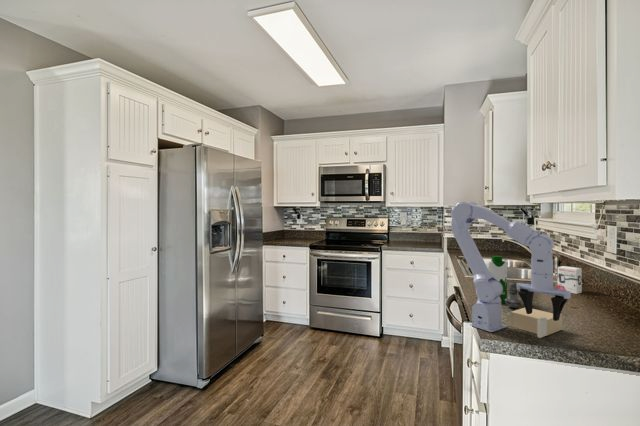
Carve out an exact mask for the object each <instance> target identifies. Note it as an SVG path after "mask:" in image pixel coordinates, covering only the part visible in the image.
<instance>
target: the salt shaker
mask: <svg viewBox="0 0 640 426" xmlns="http://www.w3.org/2000/svg"><path fill="white" fill-rule="evenodd" d="M518 292H519V290H518V289H517V282H515V280H514V279H512V280H511V282H509V283H508V289H507V293H508V295H507V299H505V302H506V303H505V304H506V305H507V306H506V307H505V310H506V311H510V312H512V311H515V310H518V309H520V308H519V307H520V306H521V303H522V300H521V299H519V298H518Z"/></svg>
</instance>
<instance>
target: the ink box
mask: <svg viewBox="0 0 640 426" xmlns="http://www.w3.org/2000/svg"><path fill="white" fill-rule="evenodd" d="M582 271H583V270H582V268H581V267H573V266H566V265H562V266H557V280H556V281H557V287H556V288H557V289H561V290H565V291H570V292H571V294H581V293H582V289H583V288H582V284H583V283H582V278H583V277H582V275H583V273H582Z"/></svg>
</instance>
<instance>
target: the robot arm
mask: <svg viewBox="0 0 640 426" xmlns="http://www.w3.org/2000/svg"><path fill="white" fill-rule="evenodd" d="M450 215H451V227H450V228H451V230H450V231H451V233H452V235H453V237H454V238H455V240H456V242H457V244H458V247H459V249H460V250H461V251H460V252H461V253H462V255H463V257H464V259H465V261H466V263H467V265H468V268H469V269H470V271H471V273H472V275H473V284H474V287H475V294H476V297H477V301H476V303H474V304H473V305H472V308H471V323H469V326H471V327H473V328H477V329H481V330H483V331H487V332H489V333H493V332H497V331H499V330H502V329H505V328H507V327H508V325H506V324H503V323H502V303H501V299H500V297H499V296H500V295H501V294H502V292H503V286H502V284H501V283H500V282H499V281H498V280H496V278H495V277H494V275H493V274H492V273H491V272H490V271H489V270H488V268H487V266H486V264H485V262H484V260H483V259H484V258H483V256H482V254H481V253H480V251H479V249H478V247H477V244H476V243H475V240H474V239H473V236H472V235H471V233H470V231H469V230H470V227H471V224H472V222H473V221H474V220H476V219H478V220H479V219H480V220H484V221H486V222H488V223H490V224H492V225H494V226H496V227H498V228H500V229H502V230H504V231H505V233H506V236H507V237H509V238H510V239H512V240H513V241H516V242H517V243H520V244H521V245H523V246H525V247H528V248H529V251H531V258H530V278H531V279H530V280H531V281H530V283H525V282H524V283H523V282H516V284H517V291H518V292H517V295H518V296H519V297H520V300H521V302H522V303H523V306H524V308H525V309H526V313H527V314H531V313H532V309H533V298H534V293H538V294H542V295H548V296H553V297H551V299H550V300H551V304H552V313H553V320H554V321H557V320H559V318H560V314H562V311H563V309H564V306H565V305H566V304H567V303H568V302H567V301H568V300H569V299H572V297H571V296H572V293H571V292H570V291H565V290H561V289H557V287H556V288H555V287H554V258H553V251H552V250H553V249H554V246H555V242H554V240H553V238H552V237H551V236H550V235H549V234H546V233H542V231H541V230H539V229H538V230H536V229H533V228H531V227H529V226H528V225H526V224H527V223H526V222H524V221H521V222H520V221H513V222H512V221H510V220H509V219H506V218H505V217H503V216H501V215H500V214H497V212H494V211H493V210H490V209H489V208H487V207H485V206H483V205H481V204H478V203H476V202H473V201H468V202H466V201H458V202H457V203H455V204H454V205H453V208H452V210H451V212H450Z"/></svg>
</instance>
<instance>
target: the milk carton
mask: <svg viewBox="0 0 640 426" xmlns="http://www.w3.org/2000/svg"><path fill="white" fill-rule="evenodd" d="M483 260H484V262H485V264H486V266H487V268H488V270H489V271H490V272H491V273H492V274H493V275H494V277H495V278H496V280H498V281H499V282H500V283H501V284H502V286H503V292H502V294H501V295H500V296H499V297H500V299H501V304H506V302H505V299H507V298H508V265H509V264H508V263H509V262H508V261H507V260H504V259H503V256H502V255H492V256H491V258H483Z"/></svg>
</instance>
